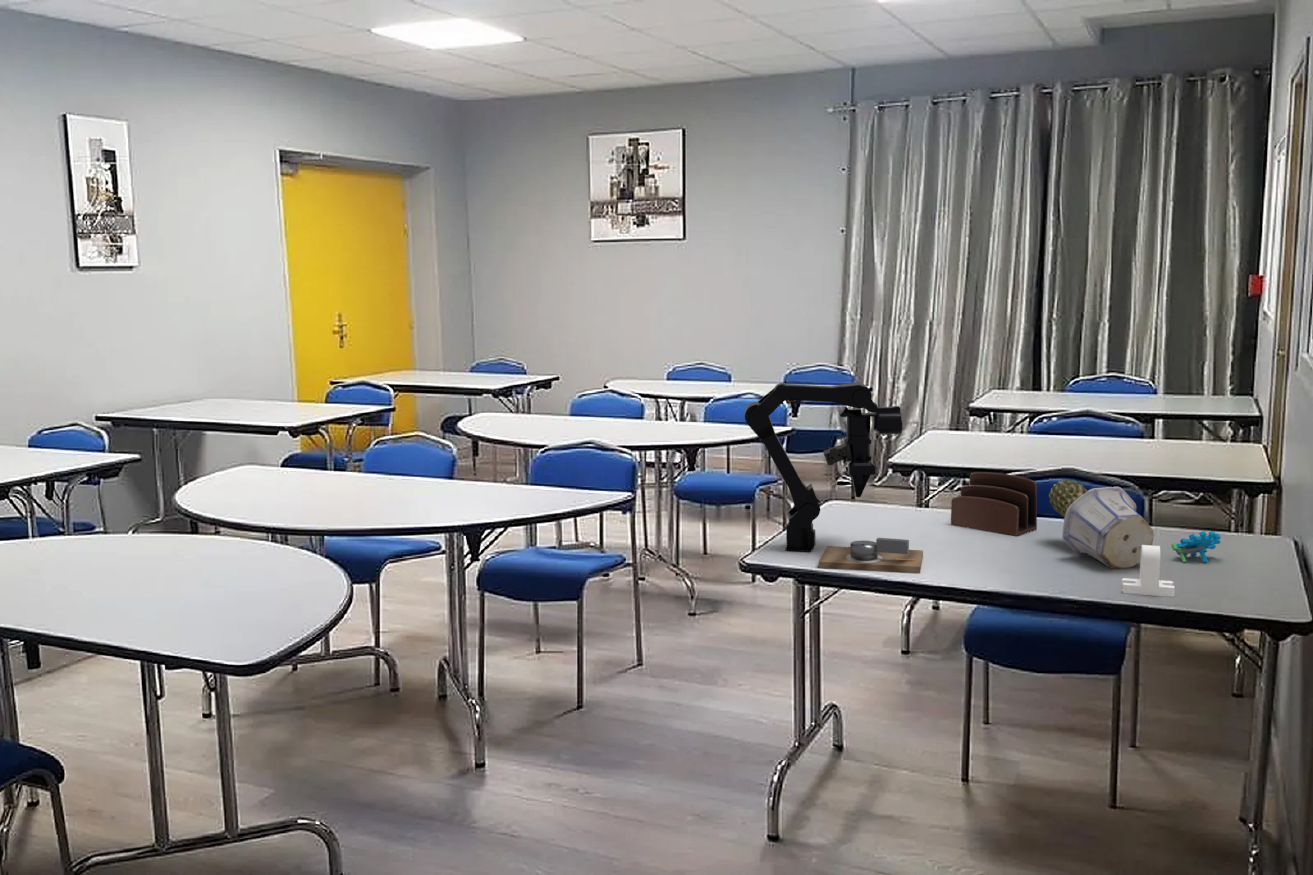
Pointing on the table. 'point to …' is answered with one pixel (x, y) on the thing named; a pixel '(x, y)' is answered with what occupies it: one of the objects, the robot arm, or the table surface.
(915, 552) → the base plate
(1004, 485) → the letter holder
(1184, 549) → the blue spiky toy dinosaur
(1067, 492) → the potted plant
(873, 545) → the grey rotary lever handle
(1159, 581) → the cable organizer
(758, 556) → the table surface
